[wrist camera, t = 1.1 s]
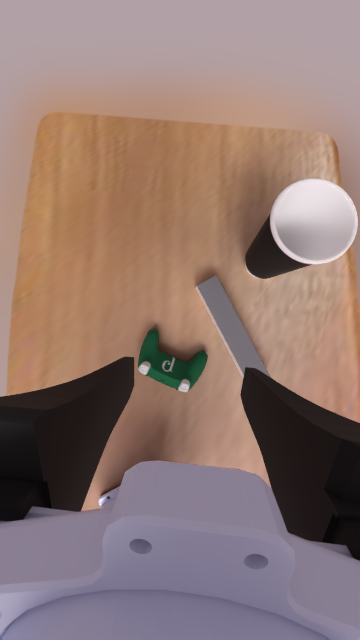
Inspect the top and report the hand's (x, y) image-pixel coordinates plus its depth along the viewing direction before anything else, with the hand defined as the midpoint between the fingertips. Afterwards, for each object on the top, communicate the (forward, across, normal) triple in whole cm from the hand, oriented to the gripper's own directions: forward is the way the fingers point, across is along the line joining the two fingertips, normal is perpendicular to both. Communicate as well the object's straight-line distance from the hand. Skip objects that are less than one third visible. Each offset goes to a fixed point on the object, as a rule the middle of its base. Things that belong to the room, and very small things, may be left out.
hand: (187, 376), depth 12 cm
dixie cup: (+19, -10, -8) cm, 23 cm away
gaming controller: (+14, +2, +6) cm, 16 cm away
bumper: (+16, -6, +2) cm, 17 cm away
